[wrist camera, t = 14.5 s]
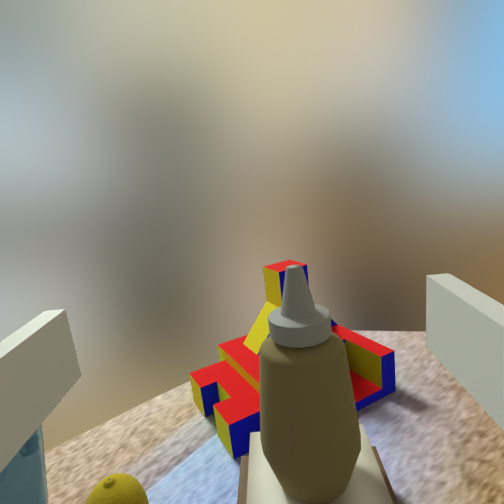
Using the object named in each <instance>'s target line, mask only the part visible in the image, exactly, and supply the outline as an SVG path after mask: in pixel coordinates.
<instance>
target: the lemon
mask: <svg viewBox="0 0 504 504" xmlns="http://www.w3.org/2000/svg"><path fill="white" fill-rule="evenodd" d="M86 504H149V503H148V499H147V496H146V493H145V491H144V489H143V487H142V486H141V484H140V483H139V482H138V480H137V479H135V478H134V477H132V476H131V475H128V474H124V473H118V474H113V475H110V476H108V477H106V478H104V479H103V480H101V481H100V482H99V483H98V484H97V485H96V486H95V487H94V489H93V490H92V492H91V493H90V495H89V497H88V499H87V502H86Z"/></svg>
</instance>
